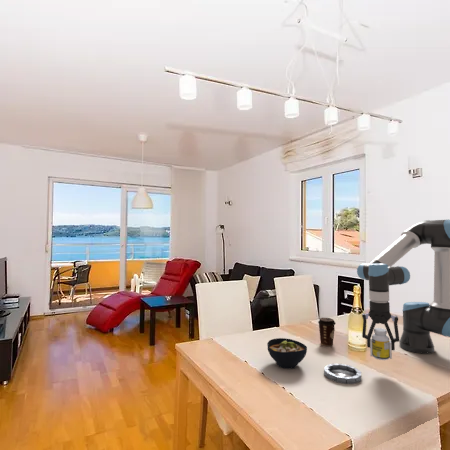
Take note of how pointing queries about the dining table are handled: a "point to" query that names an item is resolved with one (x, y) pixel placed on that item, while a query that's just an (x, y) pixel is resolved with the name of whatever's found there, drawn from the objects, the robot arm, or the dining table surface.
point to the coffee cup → (326, 331)
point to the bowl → (286, 352)
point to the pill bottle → (380, 344)
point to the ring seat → (342, 373)
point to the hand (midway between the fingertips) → (380, 356)
